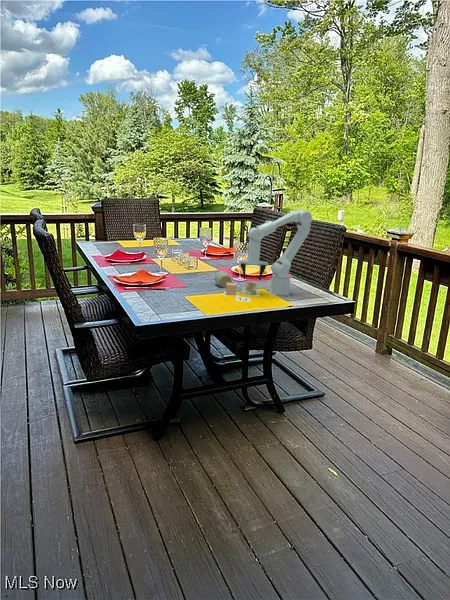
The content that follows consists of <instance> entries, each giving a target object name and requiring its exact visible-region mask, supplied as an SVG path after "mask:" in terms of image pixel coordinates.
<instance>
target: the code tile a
mask: <svg viewBox="0 0 450 600" xmlns="http://www.w3.org/2000/svg"><path fill="white" fill-rule="evenodd" d="M235 301H236V302H246V303H247V302H248V303H251V297H250V296H245V297H244V296H235Z"/></svg>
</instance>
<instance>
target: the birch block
mask: <svg viewBox="0 0 450 600" xmlns="http://www.w3.org/2000/svg"><path fill="white" fill-rule="evenodd" d="M257 286H258V285H257V282H250V281H247V282H246V284H245V290H246V294H248V295H256V291H257Z"/></svg>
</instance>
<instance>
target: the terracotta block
mask: <svg viewBox="0 0 450 600" xmlns="http://www.w3.org/2000/svg"><path fill="white" fill-rule="evenodd" d="M237 286H238V285H237V282H234V283H229V282H227V286H226V288H225V291H226V295H225V296H227V295H236V292H237V289H238V288H237Z"/></svg>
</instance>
